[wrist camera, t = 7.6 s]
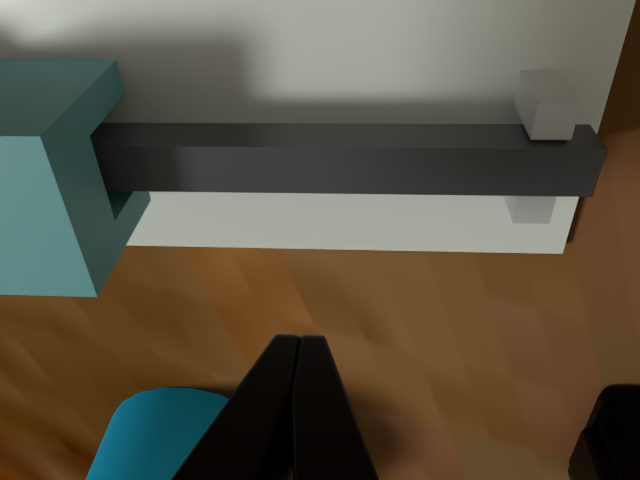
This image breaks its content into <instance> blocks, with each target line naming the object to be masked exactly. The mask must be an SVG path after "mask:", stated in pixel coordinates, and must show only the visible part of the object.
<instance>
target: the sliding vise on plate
mask: <svg viewBox="0 0 640 480" xmlns="http://www.w3.org/2000/svg"><path fill="white" fill-rule="evenodd" d="M635 2H636V0H0V60H117V64H118V68H119V72H120V76H121V80H122V84H123V88H124V92H125V95H124V96H123V97H122V98H121V99H120V101H119V102H118V103H117V104H116V105H115V107H114V108H113V109H112V110H111V111H110V112H109V114H108V115H107V116H106V117H105V118H104V120H103V121H102V122H101V123H100V124H99V125H98V127H97V128H96V129H95V130H94V131H93V133H92V134H91V135H90V139H91V142H92V146H93V149H94V152H95V156H96V159H97V162H98V166H99V169H100V172H101V176H102V179H103V182H104V186H105V189H106V191H149V194H150V198H151V201H150V203H149V205H148V206H147V208H146V210H145V212H144V214H143V215H142V217H141V219H140V221H139V223H138V224H137V226H136V228H135V230H134V232H133V233H132V235H131V237H130V239H129V241H128V243H127V244H126V245H136V246H188V247H239V248H291V249H343V250H395V251H446V252H498V253H550V254H563V250H564V247H565V243H566V240H567V237H568V233H569V230H570V226H571V223H572V219H573V216H574V212H575V209H576V205H577V202H578V199H579V197H593V193H594V190H595V187H596V184H597V180H598V177H599V174H600V171H601V167H602V164H603V161H604V158H605V154H606V151H607V149H606V147H605V146H604V144H603V143H602V141H601V140H600V139H599V137H598V136H597V133H598V130H599V126H600V123H601V119H602V116H603V112H604V109H605V105H606V102H607V98H608V95H609V92H610V88H611V85H612V81H613V78H614V74H615V71H616V67H617V64H618V60H619V57H620V54H621V50H622V47H623V43H624V40H625V36H626V33H627V29H628V26H629V22H630V19H631V16H632V12H633V9H634V5H635Z"/></svg>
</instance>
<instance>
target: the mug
mask: <svg viewBox="0 0 640 480" xmlns="http://www.w3.org/2000/svg"><path fill="white" fill-rule="evenodd" d="M228 399H229V398H226V397H224V396H222V395H220V394H216V393H211V392H207V391H202V390H198V389H193V388H167V387H163V388H158V389H154V390H149V391H144V392H139V393H138V394H136V395H134V396H132V397H131V398H129V399H127V400H125V401H123V402H122V403H121V404H120V406H119V407H118V409H117V410H116V411H115V413H114V414H113V416H112V418H111V421H110V423H109V425H108V428H107V430H106V433H105V435H104V437H103V440H102V442H101V444H100V447H99V449H98V452H97V454H96V456H95V459H94V461H93V463H92V466H91V468H90V471H89V473H88V475H87V478H86V480H170V479H171V478H172V477H173V475H174V474H175V473H176V471H177V470H178V468H179V467H180V466H181V464H182V463H183V462H184V460H185V459H186V457H187V456H188V455H189V453H190V452H191V451H192V449H193V448H194V446H195V445H196V444H197V442H198V441H199V439H200V438H201V437H202V435H203V434H204V433H205V431H206V430H207V428H208V427H209V426H210V424H211V423H212V422H213V420H214V419H215V417H216V416H217V415H218V413H219V412H220V410H221V409H222V408H223V406H224V405H225V404H226V402H227V401H228Z"/></svg>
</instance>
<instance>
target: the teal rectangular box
mask: <svg viewBox="0 0 640 480" xmlns="http://www.w3.org/2000/svg"><path fill="white" fill-rule="evenodd" d="M124 95H125V92H124V88H123V84H122V80H121V76H120V72H119V68H118V64H117V60H0V294H4V295H43V296H81V297H98V295H99V293H100V291H101V290H102V288H103V286H104V284H105V282H106V280H107V279H108V277H109V275H110V273H111V271H112V270H113V268H114V266H115V264H116V262H117V261H118V259H119V257H120V255H121V253H122V252H123V250H124V248H125V246H126V244H127V243H128V241H129V239H130V237H131V235H132V233H133V232H134V230H135V228H136V226H137V224H138V223H139V221H140V219H141V217H142V215H143V214H144V212H145V210H146V208H147V206H148V205H149V203H150V201H151V198H150V194H149V191H106V189H105V186H104V182H103V179H102V176H101V172H100V169H99V166H98V162H97V159H96V156H95V152H94V149H93V146H92V142H91V139H90V135H91V134H92V133H93V131H94V130H95V129H96V128H97V127H98V125H99V124H100V123H101V122H102V121H103V120H104V118H105V117H106V116H107V115H108V114H109V112H110V111H111V110H112V109H113V108H114V107H115V105H116V104H117V103H118V102H119V101H120V99H121V98H122V97H123V96H124Z"/></svg>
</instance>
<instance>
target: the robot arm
mask: <svg viewBox="0 0 640 480" xmlns="http://www.w3.org/2000/svg"><path fill="white" fill-rule="evenodd" d="M569 464H570V466H569V468H568V474H569V477H570V480H640V390H629V389H609V390H606V391H604V392H602V393H601V394H600V395H599V396H598V399H597V401H596V404H595V406H594V408H593V411H592V413H591V415H590V418H589V420H588V423H587V425H586V427H585V428H584V429H583V431H582V432H581V434H580V436H579V439H578V441H577V444H576V446H575V448H574V451H573V453H572V456H571V458H570V460H569ZM170 480H379V478H378V476H377V473H376V470H375V468H374V465H373V462H372V460H371V457H370V454H369V452H368V449H367V446H366V444H365V441H364V438H363V436H362V433H361V430H360V428H359V425H358V422H357V420H356V417H355V414H354V412H353V409H352V406H351V404H350V401H349V398H348V396H347V393H346V391H345V388H344V385H343V383H342V380H341V377H340V375H339V372H338V369H337V367H336V364H335V361H334V359H333V356H332V353H331V351H330V348H329V345H328V343H327V340H326V338H325V336H323V335H316V334H303V335H302V336H301V338H300V336H299V335H298V334H277V335H275V336H274V337H273V339H272V340H271V341H270V343H269V344H268V346H267V347H266V348H265V350H264V351H263V353H262V354H261V355H260V357H259V358H258V359H257V361H256V362H255V364H254V365H253V366H252V368H251V369H250V370H249V372H248V373H247V375H246V376H245V377H244V379H243V380H242V382H241V383H240V384H239V386H238V387H237V388H236V390H235V391H234V393H233V394H232V395H231V397H230V398H229V399H228V401H227V402H226V404H225V405H224V406H223V408H222V409H221V410H220V412H219V413H218V415H217V416H216V417H215V419H214V420H213V422H212V423H211V424H210V426H209V427H208V428H207V430H206V431H205V433H204V434H203V435H202V437H201V438H200V439H199V441H198V442H197V444H196V445H195V446H194V448H193V449H192V451H191V452H190V453H189V455H188V456H187V457H186V459H185V460H184V462H183V463H182V464H181V466H180V467H179V468H178V470H177V471H176V473H175V474H174V475H173V477H172V478H171V479H170Z"/></svg>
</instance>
